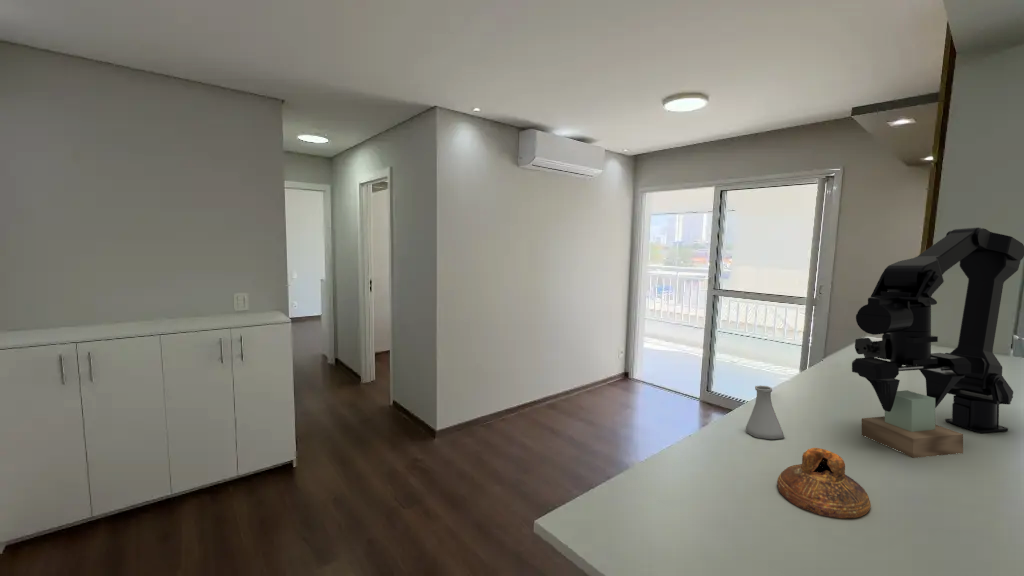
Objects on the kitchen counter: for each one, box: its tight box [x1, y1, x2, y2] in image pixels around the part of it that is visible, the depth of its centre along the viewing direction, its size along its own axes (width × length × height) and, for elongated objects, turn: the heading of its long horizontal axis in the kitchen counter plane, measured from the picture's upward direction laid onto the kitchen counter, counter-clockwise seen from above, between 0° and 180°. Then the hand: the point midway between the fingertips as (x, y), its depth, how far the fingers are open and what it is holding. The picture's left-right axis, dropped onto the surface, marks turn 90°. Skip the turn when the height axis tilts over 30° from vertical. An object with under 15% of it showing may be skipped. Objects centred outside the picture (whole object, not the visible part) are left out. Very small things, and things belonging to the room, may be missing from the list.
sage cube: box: [884, 390, 936, 432], centre depth 80 cm, size 5×5×6 cm
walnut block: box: [861, 415, 964, 459], centre depth 80 cm, size 10×10×4 cm
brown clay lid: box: [776, 447, 872, 519], centre depth 64 cm, size 12×12×7 cm
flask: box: [745, 385, 785, 440], centre depth 87 cm, size 7×7×10 cm
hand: (909, 409), depth 79 cm, fingers open, 9 cm apart
